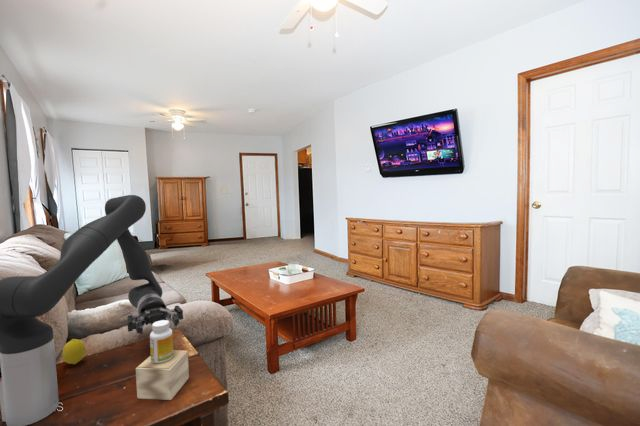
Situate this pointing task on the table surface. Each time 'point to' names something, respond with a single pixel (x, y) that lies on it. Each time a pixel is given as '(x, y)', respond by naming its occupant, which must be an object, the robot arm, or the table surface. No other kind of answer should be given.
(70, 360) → the lemon
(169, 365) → the maple block
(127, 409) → the table surface
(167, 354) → the supplement bottle
